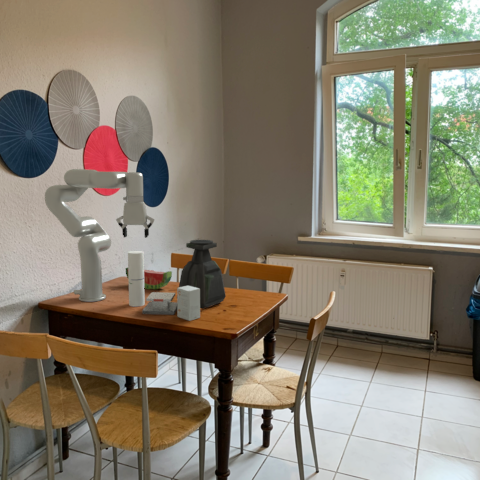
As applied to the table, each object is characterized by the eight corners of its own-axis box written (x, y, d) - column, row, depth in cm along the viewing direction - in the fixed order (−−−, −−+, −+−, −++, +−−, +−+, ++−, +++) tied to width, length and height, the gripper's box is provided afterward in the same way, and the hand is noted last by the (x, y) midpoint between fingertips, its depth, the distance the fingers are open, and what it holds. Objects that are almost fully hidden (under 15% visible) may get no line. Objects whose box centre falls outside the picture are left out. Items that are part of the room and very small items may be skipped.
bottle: (226, 302, 219) (227, 241, 215) (205, 311, 206) (205, 245, 201) (198, 296, 229) (197, 237, 225) (175, 304, 216) (175, 241, 211)
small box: (200, 317, 197) (200, 288, 195) (189, 321, 192) (189, 291, 190) (188, 313, 202) (188, 285, 200) (176, 316, 197) (176, 287, 195)
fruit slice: (172, 289, 243) (172, 271, 241) (165, 292, 237) (165, 273, 236) (132, 283, 254) (132, 266, 252) (125, 286, 248) (124, 268, 246)
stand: (142, 313, 201) (141, 299, 200) (149, 304, 214) (149, 291, 214) (173, 314, 200) (173, 300, 199) (179, 305, 214) (179, 291, 213)
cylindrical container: (140, 307, 211) (139, 253, 207) (126, 306, 212) (125, 253, 208) (147, 302, 217) (146, 251, 214) (133, 301, 219) (131, 250, 215)
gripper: (113, 200, 204) (114, 238, 207) (151, 200, 203) (152, 238, 206) (118, 199, 211) (119, 235, 214) (155, 199, 211) (156, 236, 213)
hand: (135, 237), depth 210 cm, fingers open, 9 cm apart
